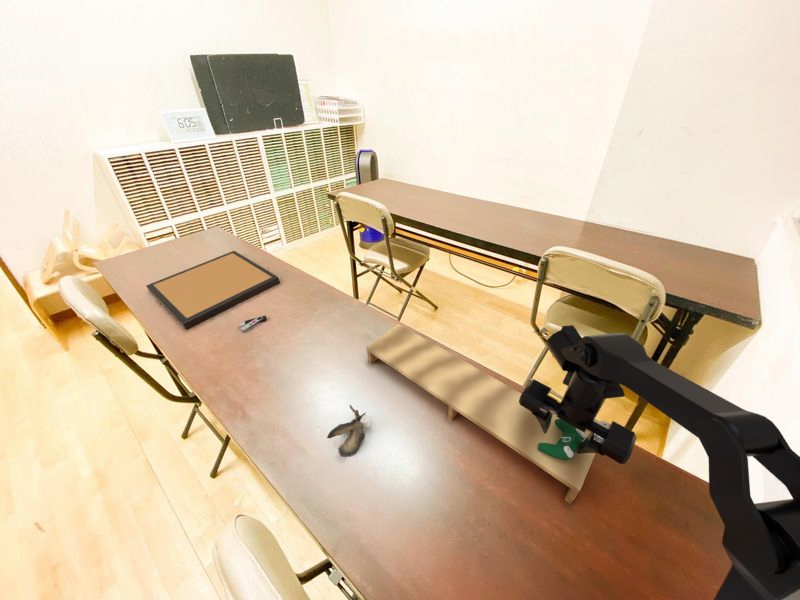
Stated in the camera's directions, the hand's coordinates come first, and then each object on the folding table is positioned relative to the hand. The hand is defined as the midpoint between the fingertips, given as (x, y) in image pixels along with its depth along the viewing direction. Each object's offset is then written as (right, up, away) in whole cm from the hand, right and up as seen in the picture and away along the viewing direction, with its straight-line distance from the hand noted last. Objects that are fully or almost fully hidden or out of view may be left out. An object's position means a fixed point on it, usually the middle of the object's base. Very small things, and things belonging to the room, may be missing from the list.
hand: (561, 441), depth 64 cm
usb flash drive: (-81, +20, +42) cm, 93 cm away
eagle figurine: (-43, -3, +10) cm, 45 cm away
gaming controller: (0, -1, +1) cm, 1 cm away
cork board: (-105, +33, +61) cm, 126 cm away
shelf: (-16, +3, +16) cm, 23 cm away
